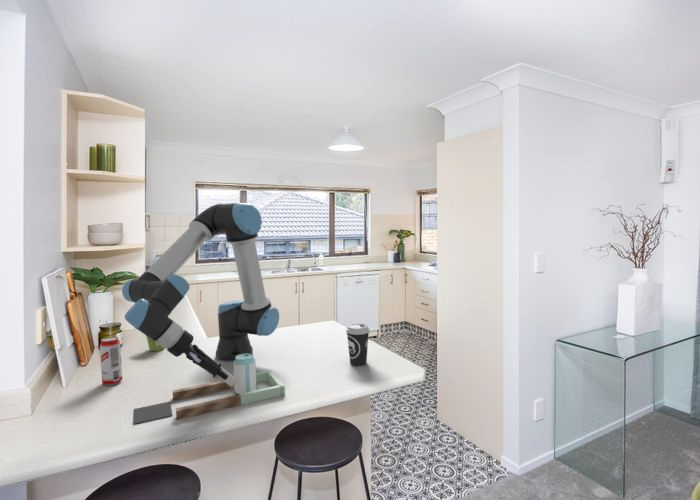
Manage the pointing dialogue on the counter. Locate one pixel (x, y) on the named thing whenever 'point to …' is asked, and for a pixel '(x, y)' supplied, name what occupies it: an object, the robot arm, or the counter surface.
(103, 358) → the beer can
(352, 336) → the coffee cup
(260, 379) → the corral
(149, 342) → the plant pot
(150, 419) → the pit mat
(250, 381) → the can
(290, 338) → the counter surface
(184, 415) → the channel
